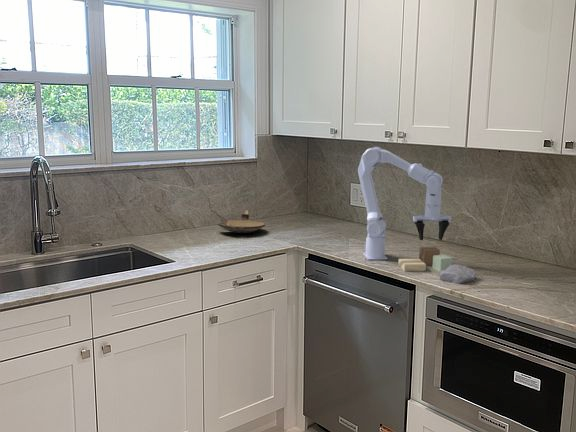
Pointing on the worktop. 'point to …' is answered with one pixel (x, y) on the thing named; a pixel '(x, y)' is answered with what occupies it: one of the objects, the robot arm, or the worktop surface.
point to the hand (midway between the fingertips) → (430, 239)
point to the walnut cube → (428, 254)
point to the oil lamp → (242, 225)
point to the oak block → (412, 265)
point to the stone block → (457, 274)
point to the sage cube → (441, 262)
